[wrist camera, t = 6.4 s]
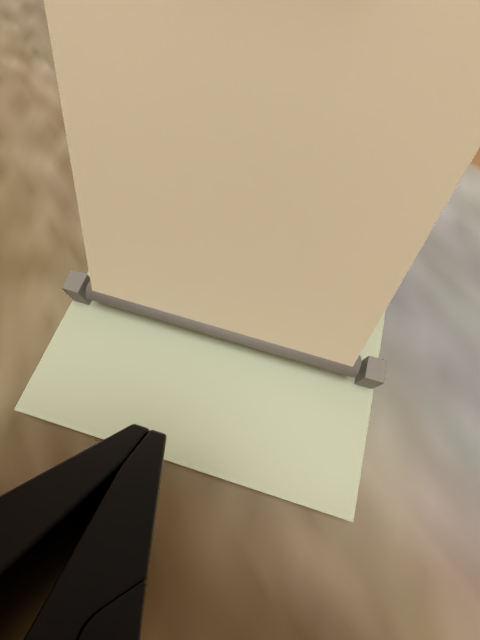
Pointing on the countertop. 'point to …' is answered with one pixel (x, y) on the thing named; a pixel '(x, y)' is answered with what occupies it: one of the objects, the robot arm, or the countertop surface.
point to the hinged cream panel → (264, 157)
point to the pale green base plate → (210, 401)
